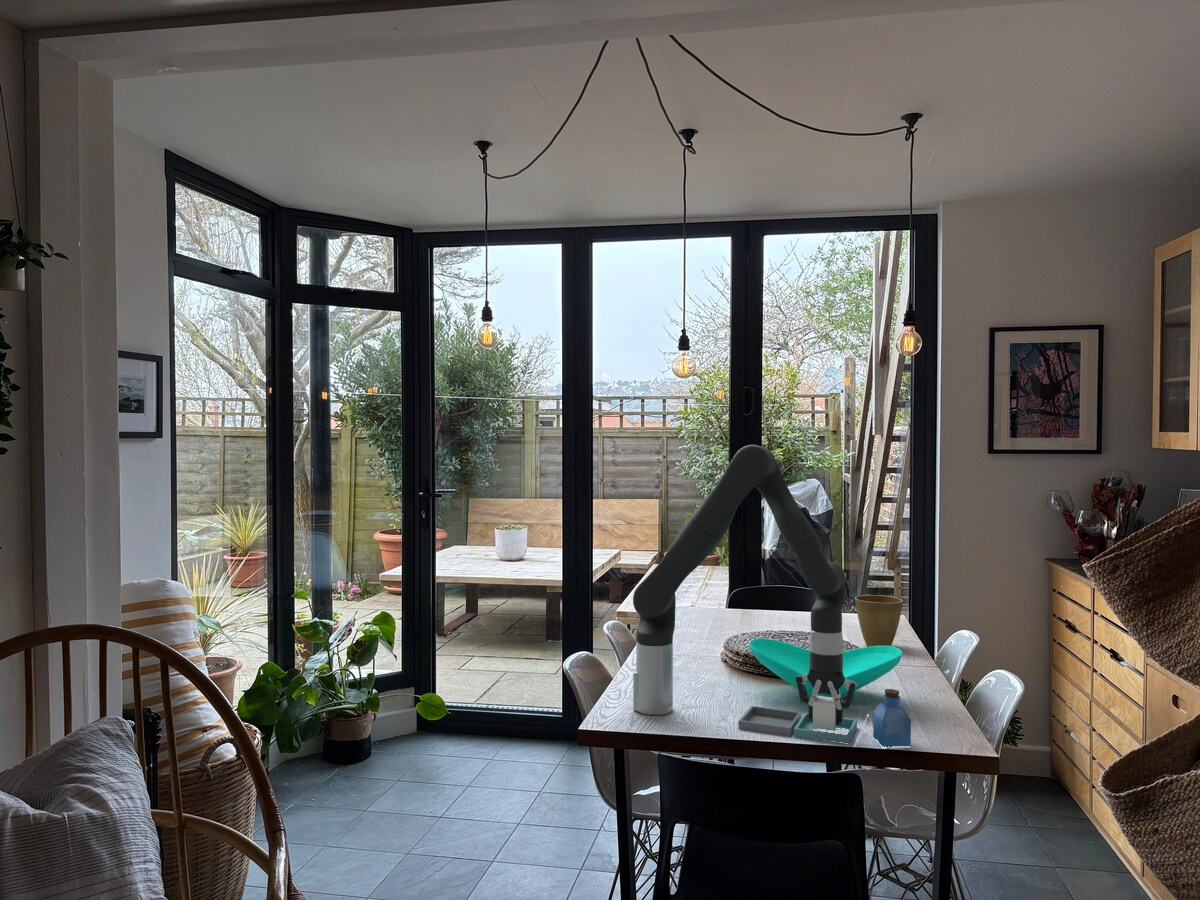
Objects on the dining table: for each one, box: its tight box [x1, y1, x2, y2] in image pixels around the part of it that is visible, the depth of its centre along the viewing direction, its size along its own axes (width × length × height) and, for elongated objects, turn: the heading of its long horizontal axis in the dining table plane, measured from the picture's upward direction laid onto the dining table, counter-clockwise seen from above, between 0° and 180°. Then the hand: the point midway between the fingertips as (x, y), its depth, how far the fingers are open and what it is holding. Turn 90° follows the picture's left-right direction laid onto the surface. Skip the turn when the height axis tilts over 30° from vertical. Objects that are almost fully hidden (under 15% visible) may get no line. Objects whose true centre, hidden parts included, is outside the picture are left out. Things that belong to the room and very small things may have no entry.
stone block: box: [813, 696, 838, 731], centre depth 197 cm, size 5×5×6 cm
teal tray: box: [793, 712, 858, 745], centre depth 197 cm, size 12×12×2 cm
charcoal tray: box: [737, 705, 802, 737], centre depth 203 cm, size 12×12×2 cm
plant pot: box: [854, 594, 904, 647], centre depth 278 cm, size 15×15×16 cm
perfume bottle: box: [872, 688, 912, 747], centre depth 191 cm, size 6×6×12 cm
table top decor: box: [748, 637, 904, 699], centre depth 226 cm, size 40×28×13 cm
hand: (825, 722), depth 197 cm, fingers closed on stone block, 4 cm apart
